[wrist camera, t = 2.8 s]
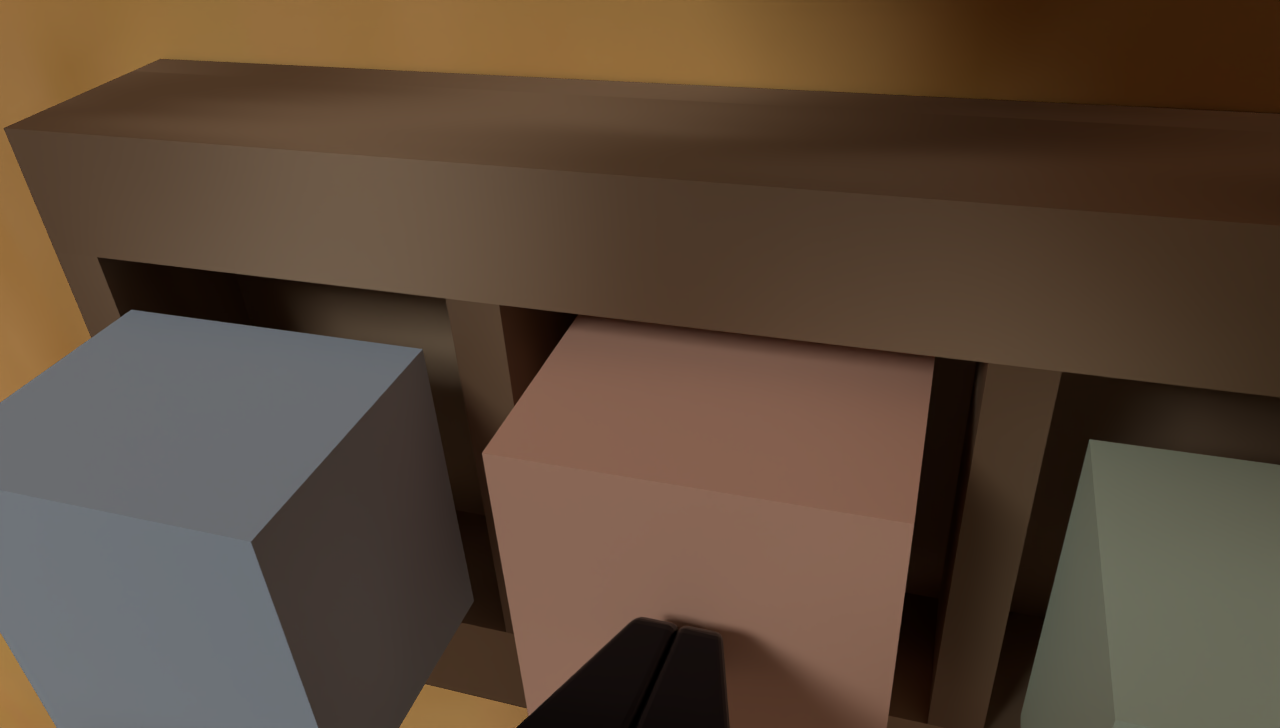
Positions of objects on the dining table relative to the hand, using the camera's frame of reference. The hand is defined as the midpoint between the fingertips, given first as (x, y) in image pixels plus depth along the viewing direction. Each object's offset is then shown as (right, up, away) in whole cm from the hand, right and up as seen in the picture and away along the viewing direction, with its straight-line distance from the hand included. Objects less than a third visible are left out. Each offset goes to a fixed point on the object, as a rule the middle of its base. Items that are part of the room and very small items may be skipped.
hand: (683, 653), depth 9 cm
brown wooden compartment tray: (+1, +2, +3) cm, 4 cm away
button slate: (-4, +2, +3) cm, 5 cm away
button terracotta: (+1, +2, +3) cm, 3 cm away
